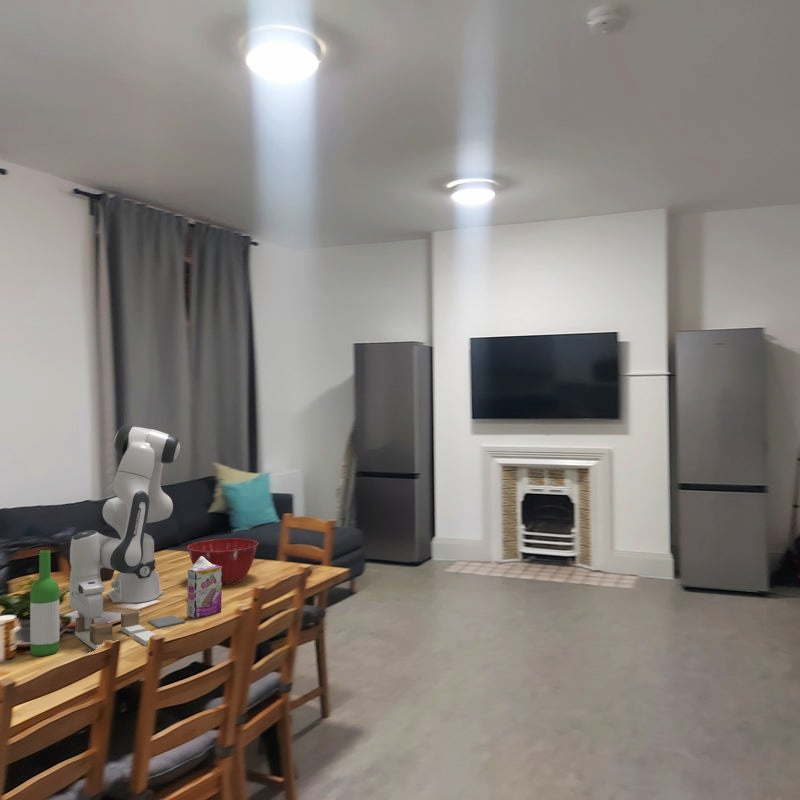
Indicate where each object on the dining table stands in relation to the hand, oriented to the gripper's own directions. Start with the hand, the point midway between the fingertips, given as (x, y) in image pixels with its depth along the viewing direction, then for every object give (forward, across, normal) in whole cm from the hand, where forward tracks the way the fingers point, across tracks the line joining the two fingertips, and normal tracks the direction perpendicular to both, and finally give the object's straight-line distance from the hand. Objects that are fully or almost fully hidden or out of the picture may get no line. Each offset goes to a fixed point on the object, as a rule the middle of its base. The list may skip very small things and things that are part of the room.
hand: (85, 626), depth 231 cm
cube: (+1, +14, 0) cm, 15 cm away
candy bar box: (+3, +4, +39) cm, 39 cm away
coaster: (+3, +4, +25) cm, 25 cm away
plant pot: (+3, -71, +30) cm, 77 cm away
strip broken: (+3, +12, +13) cm, 18 cm away
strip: (+3, +8, 0) cm, 9 cm away
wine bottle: (+3, +8, -14) cm, 16 cm away
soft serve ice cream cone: (+3, -16, +48) cm, 51 cm away
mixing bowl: (+3, -34, +66) cm, 74 cm away
